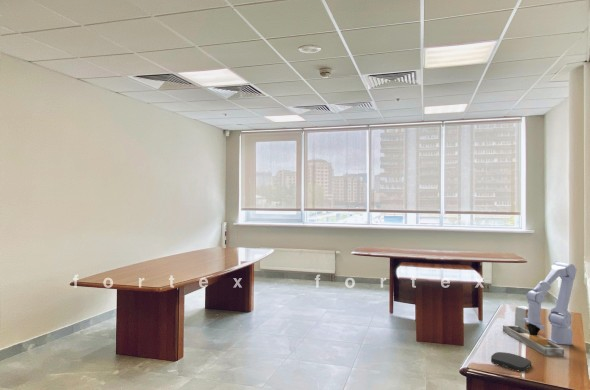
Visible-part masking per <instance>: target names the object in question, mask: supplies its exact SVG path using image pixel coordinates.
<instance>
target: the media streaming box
mask: <svg viewBox="0 0 590 390" xmlns="http://www.w3.org/2000/svg"><path fill="white" fill-rule="evenodd" d="M490 361H491V363H493V364H495V365H497V364H498V365H497V366H500V365H501V366H500V367H503V366H504V368H506V367H508V368H507V369H509V368H511V369H510V370H512V369H514V370H513V371H515V370H519V371H518V372H526V371H528V370H529V369H530V368H532V361H531V360H529V359H528V358H525V357H524V356H521V355H519V354H515V353H514V354H513V353H509V352H501V351H497V352H495V353H493V354H491V357H490ZM527 369H528V370H527Z"/></svg>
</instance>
